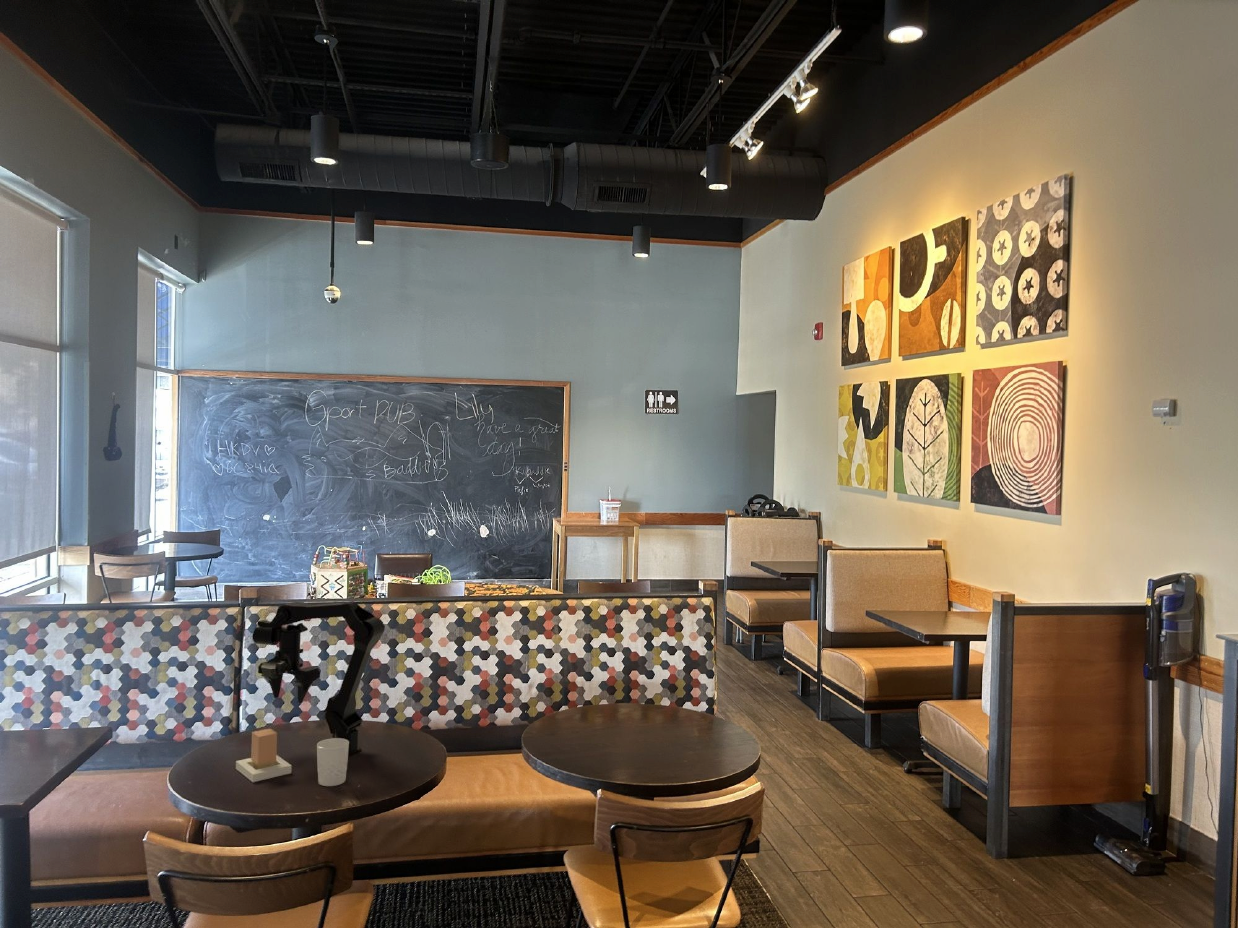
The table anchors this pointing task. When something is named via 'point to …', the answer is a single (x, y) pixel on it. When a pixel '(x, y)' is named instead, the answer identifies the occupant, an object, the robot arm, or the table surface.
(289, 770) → the socket
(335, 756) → the white cup
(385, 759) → the table surface
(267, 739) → the plug
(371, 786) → the table surface
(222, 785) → the table surface
